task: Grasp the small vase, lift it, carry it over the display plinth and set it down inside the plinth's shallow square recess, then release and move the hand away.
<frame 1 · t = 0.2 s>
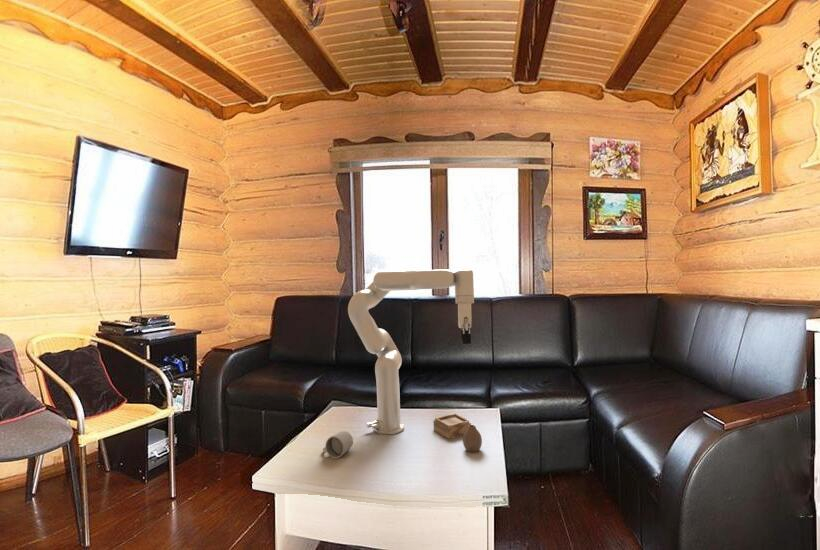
hand: (466, 341, 166), 37 cm above the table, tool pointing down, fingers open, 9 cm apart
display plinth: (452, 431, 166), on the table
vase: (472, 450, 149), on the table
ceramic mug: (336, 454, 149), on the table
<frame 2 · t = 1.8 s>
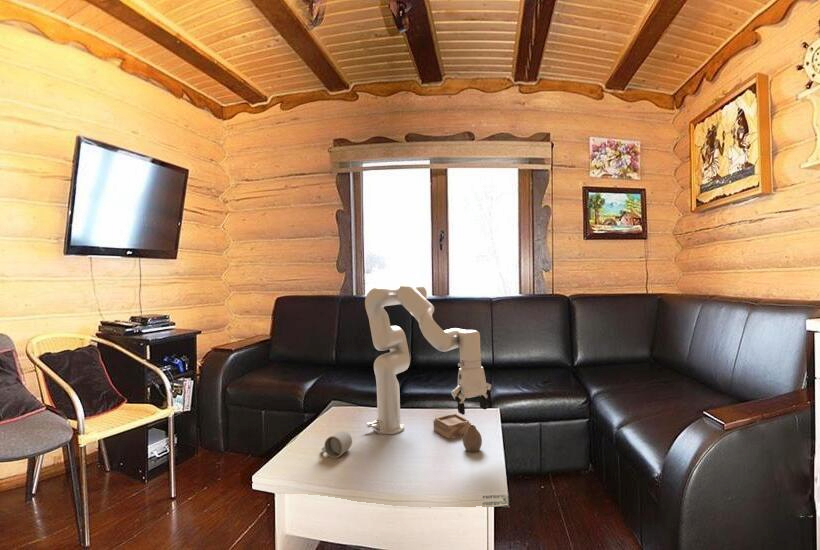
hand: (472, 411, 148), 14 cm above the table, tool pointing down, fingers open, 9 cm apart
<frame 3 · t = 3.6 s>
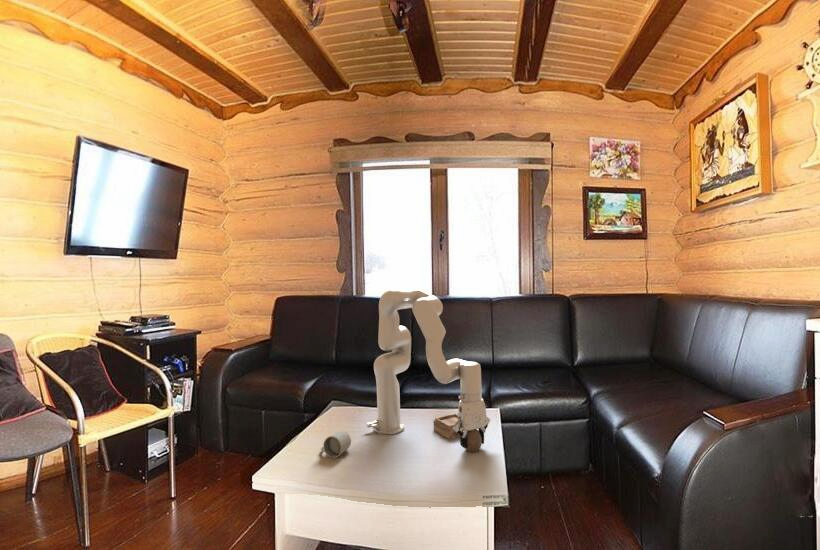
hand: (472, 444, 149), 2 cm above the table, tool pointing down, fingers closed on vase, 6 cm apart
vase: (472, 450, 149), on the table, touching gripper
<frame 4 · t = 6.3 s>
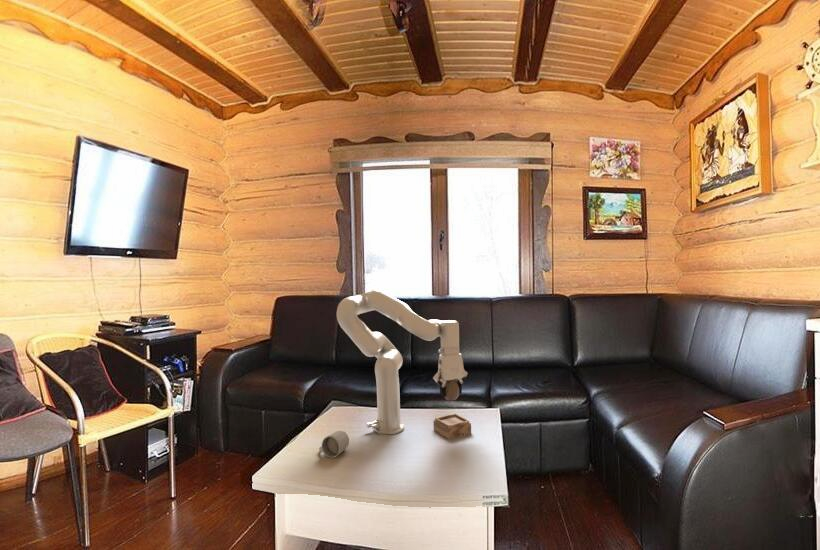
hand: (451, 394, 166), 15 cm above the table, tool pointing down, fingers closed on vase, 6 cm apart
vase: (451, 399, 166), point 13 cm above the table, touching gripper
when the fingers open (7 cm above the table, at t = 8.8 s): vase stays where it is, resting on display plinth.
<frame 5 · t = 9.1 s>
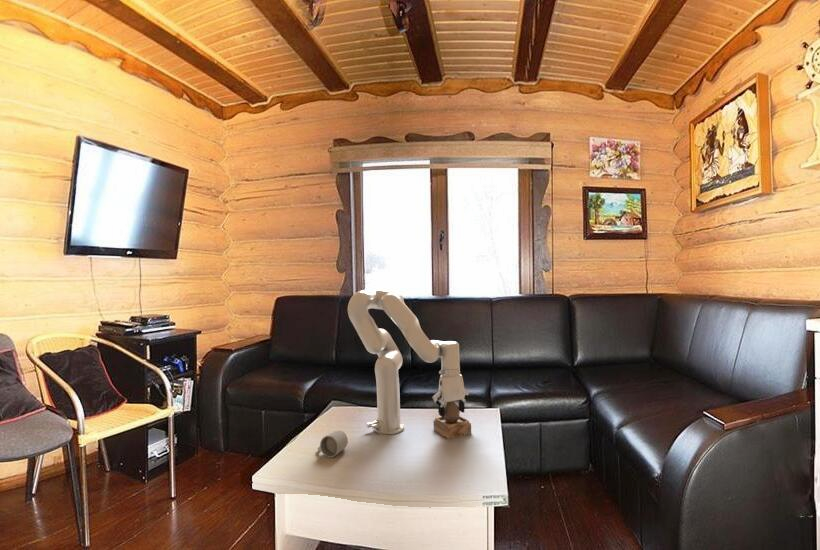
hand: (451, 413, 166), 7 cm above the table, tool pointing down, fingers open, 9 cm apart
vase: (451, 422, 166), point 4 cm above the table, touching display plinth
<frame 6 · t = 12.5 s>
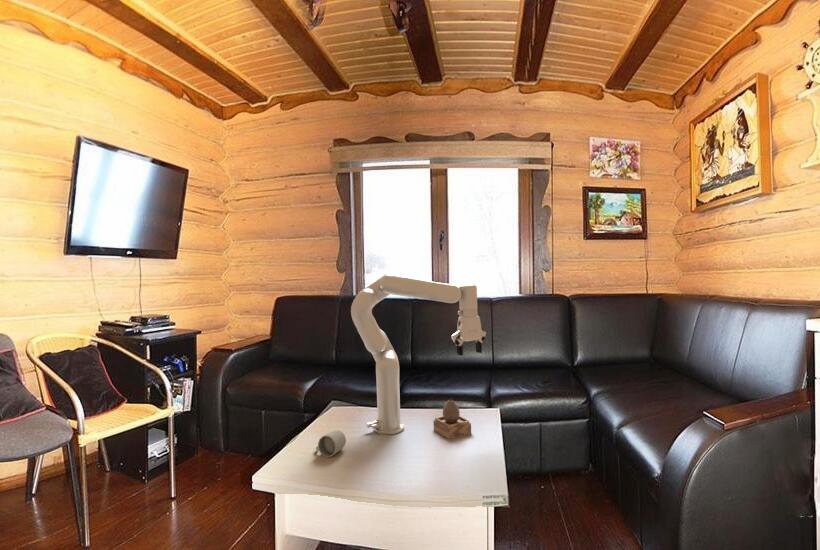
hand: (469, 353, 173), 30 cm above the table, tool pointing down, fingers open, 9 cm apart
at the end: vase 0.3 cm from the display plinth (horizontally); vase touching display plinth; vase tilted 0° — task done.
